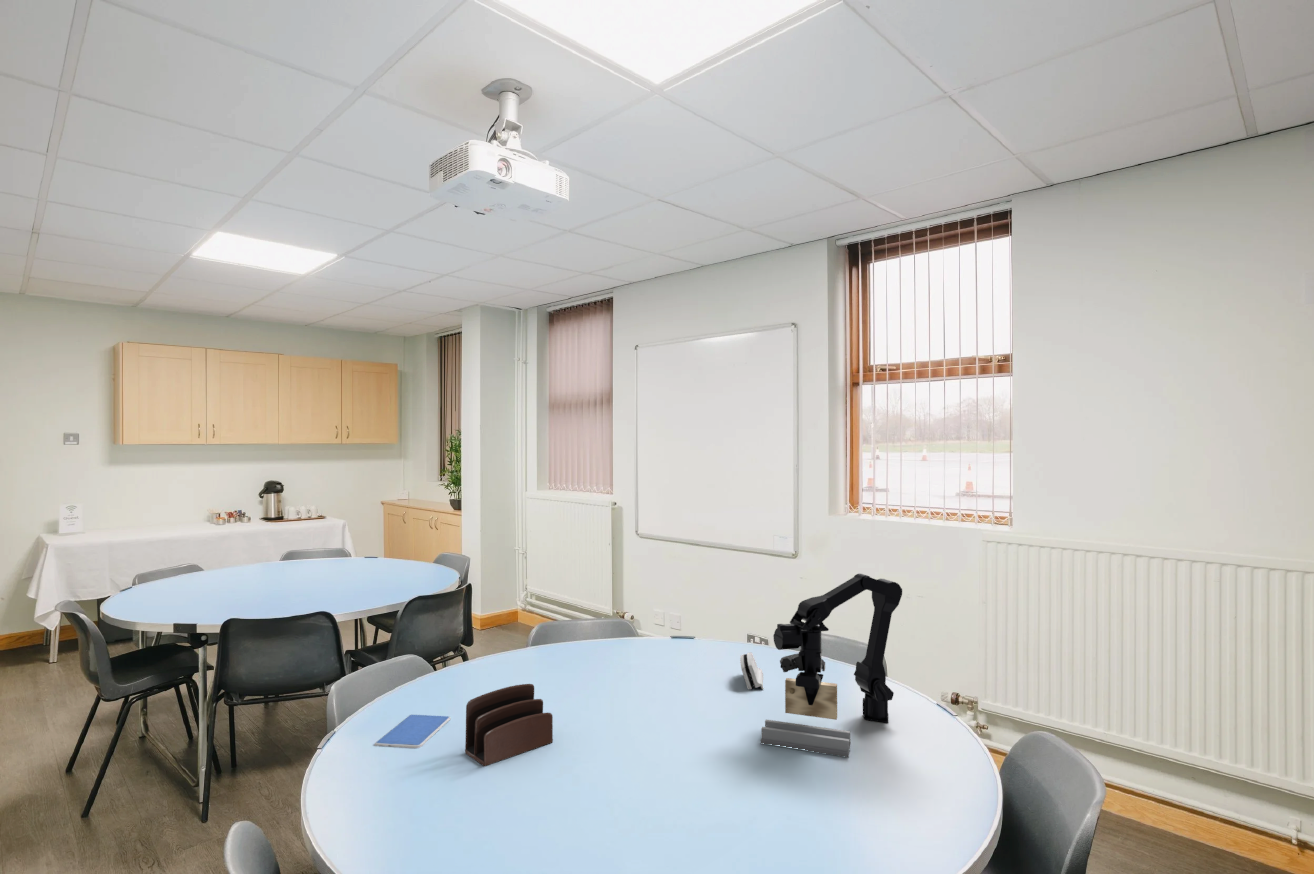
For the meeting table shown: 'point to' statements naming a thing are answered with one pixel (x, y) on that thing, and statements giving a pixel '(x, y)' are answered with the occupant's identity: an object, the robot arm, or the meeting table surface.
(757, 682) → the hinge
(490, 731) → the letter holder
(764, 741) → the door track
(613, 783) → the meeting table surface
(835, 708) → the door panel
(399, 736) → the tablet computer
